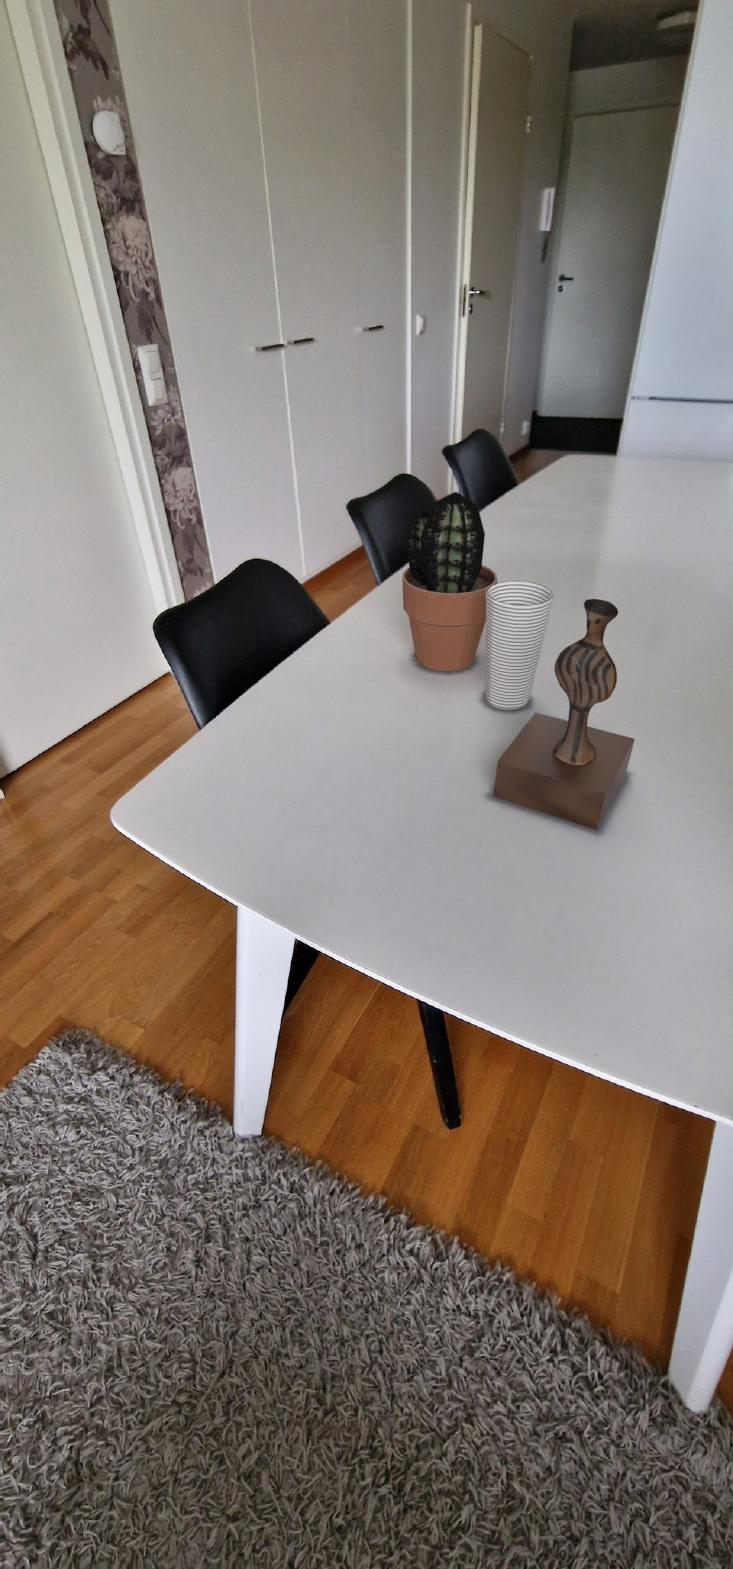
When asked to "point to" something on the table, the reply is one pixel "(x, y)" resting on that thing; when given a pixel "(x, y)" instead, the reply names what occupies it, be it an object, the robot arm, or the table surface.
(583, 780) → the walnut block
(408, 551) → the potted plant
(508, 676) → the cup
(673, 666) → the table surface
